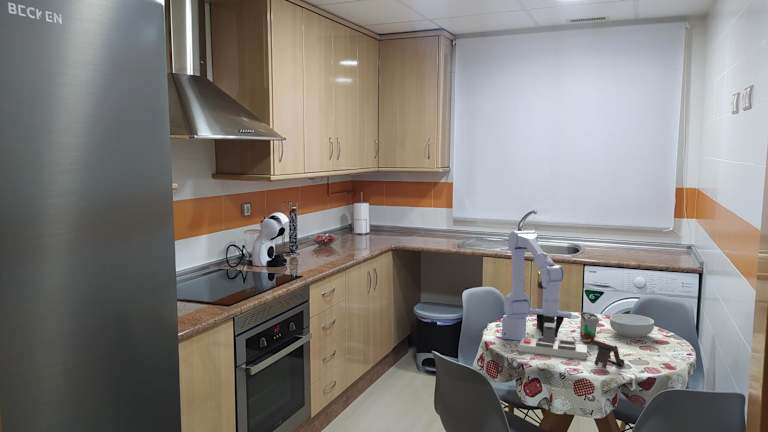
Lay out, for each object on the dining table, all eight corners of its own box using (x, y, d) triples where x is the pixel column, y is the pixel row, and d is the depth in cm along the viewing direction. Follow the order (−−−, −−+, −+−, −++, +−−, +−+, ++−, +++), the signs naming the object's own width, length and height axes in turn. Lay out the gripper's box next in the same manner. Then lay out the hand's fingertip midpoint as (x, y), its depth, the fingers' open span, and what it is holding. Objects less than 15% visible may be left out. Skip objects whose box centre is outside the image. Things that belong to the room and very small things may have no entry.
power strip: (519, 351, 224) (519, 341, 224) (521, 344, 233) (522, 334, 232) (586, 359, 216) (586, 349, 216) (586, 351, 225) (587, 341, 224)
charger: (542, 342, 213) (543, 326, 212) (544, 338, 218) (544, 322, 217) (554, 343, 211) (555, 327, 211) (555, 339, 216) (556, 323, 216)
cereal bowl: (633, 328, 255) (634, 311, 255) (662, 339, 240) (663, 322, 239) (600, 331, 250) (601, 315, 249) (628, 343, 234) (629, 326, 234)
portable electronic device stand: (624, 366, 210) (626, 343, 209) (610, 370, 206) (611, 347, 205) (603, 358, 217) (604, 336, 217) (589, 362, 213) (590, 340, 212)
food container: (600, 345, 232) (601, 320, 231) (583, 344, 233) (584, 319, 232) (595, 336, 244) (596, 312, 243) (579, 335, 245) (580, 311, 244)
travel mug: (556, 330, 250) (558, 284, 248) (538, 330, 250) (540, 283, 248) (551, 325, 258) (553, 280, 256) (534, 325, 258) (536, 279, 256)
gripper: (529, 299, 212) (527, 336, 213) (571, 303, 207) (570, 341, 208) (531, 295, 218) (529, 331, 220) (572, 299, 213) (570, 335, 215)
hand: (549, 336), depth 214 cm, fingers closed on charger, 4 cm apart
